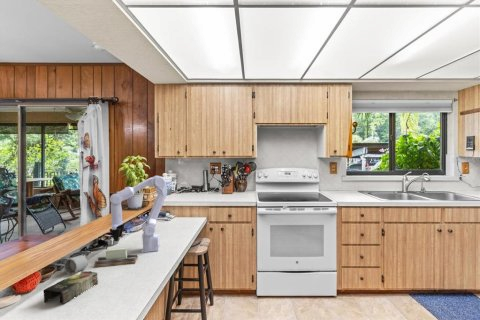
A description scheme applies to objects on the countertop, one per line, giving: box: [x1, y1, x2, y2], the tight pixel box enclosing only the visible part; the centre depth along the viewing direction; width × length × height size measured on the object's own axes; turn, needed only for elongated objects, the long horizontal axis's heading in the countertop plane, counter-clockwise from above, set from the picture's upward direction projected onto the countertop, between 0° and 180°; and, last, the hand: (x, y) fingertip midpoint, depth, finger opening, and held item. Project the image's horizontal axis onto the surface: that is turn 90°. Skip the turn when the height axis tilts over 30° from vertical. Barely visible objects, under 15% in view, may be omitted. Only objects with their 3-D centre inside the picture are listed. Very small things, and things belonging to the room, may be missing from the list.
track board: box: [93, 253, 139, 269], centre depth 158 cm, size 20×9×2 cm, turn 99°
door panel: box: [105, 247, 128, 260], centre depth 157 cm, size 10×2×6 cm, turn 99°
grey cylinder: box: [63, 254, 89, 276], centre depth 148 cm, size 11×8×8 cm
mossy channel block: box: [43, 270, 99, 305], centre depth 125 cm, size 20×10×6 cm, turn 164°
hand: (118, 239), depth 168 cm, fingers open, 7 cm apart
